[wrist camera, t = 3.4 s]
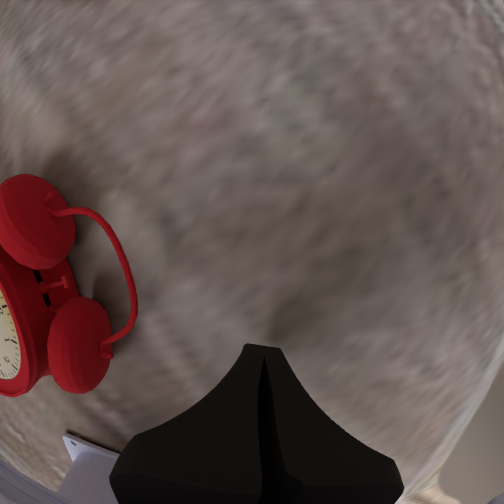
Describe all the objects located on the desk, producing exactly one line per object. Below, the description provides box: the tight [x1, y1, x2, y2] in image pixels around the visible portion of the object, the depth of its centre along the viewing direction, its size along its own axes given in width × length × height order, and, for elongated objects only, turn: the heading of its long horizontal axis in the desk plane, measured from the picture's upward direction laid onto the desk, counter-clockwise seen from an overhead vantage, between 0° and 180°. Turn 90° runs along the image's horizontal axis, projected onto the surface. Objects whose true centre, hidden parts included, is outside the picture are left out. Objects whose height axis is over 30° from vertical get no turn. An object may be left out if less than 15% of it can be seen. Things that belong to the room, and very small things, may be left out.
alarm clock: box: [0, 174, 138, 397], centre depth 10 cm, size 10×6×15 cm
